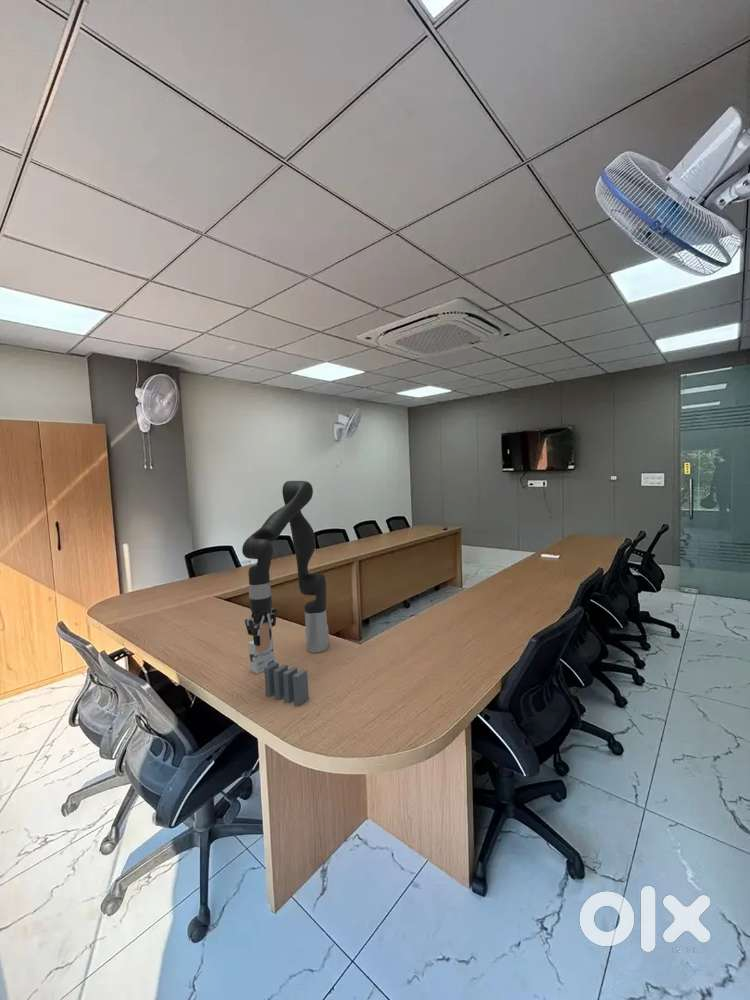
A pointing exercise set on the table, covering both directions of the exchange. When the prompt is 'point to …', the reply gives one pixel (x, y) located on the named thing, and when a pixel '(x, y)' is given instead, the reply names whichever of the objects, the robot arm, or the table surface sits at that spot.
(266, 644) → the domino
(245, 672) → the table surface
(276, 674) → the domino
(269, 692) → the domino
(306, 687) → the domino
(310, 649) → the robot arm
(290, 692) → the domino
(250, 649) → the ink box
